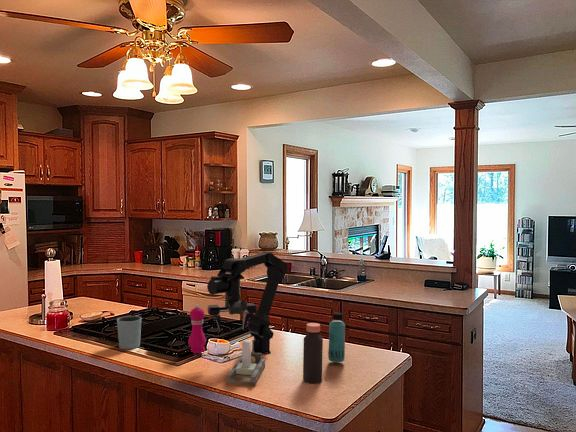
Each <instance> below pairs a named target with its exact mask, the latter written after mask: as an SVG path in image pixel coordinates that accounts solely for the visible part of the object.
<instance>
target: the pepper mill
mask: <svg viewBox="0 0 576 432" xmlns="http://www.w3.org/2000/svg"><path fill="white" fill-rule="evenodd" d="M205 316H206V315H205V310H204V309H203V308H201V307H200V305H199V304H198V303H196V304H195V307H194V308H193V309H191V310H190V312H189V317H190V319H191V322H190V324H191V326H192V329H191V333H190V334H189V337H188V341H187V342H188V346H189V348H190V347H191V349H190V350H191V352H193V353H201V352H204V351H205V350H206V349H205V345H206V343H207V339H206V336H205V333H204V331H203V324H204V318H205ZM204 353H205V352H204Z"/></svg>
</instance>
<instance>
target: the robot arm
mask: <svg viewBox="0 0 576 432" xmlns="http://www.w3.org/2000/svg"><path fill="white" fill-rule="evenodd" d="M262 264H263V265H264V267H266V277H267V280H266V283H265V284H266V285H265V287H264V289H263V294H262V296H261V299H260V302H259V305H258V306H257V305H256V304H254V302H248V301H247V300H246V299H245V300H244V299H243V300H241V293H240V292H241V280H245V276H243V273H245V271H246V270H247V269H249V268H252V267H257V266H260V265H262ZM288 269H289V267H288V264H287V263H286V261H283V260H282V259H281V258H279V257H277V256H275V255H274V254H273V253H272V252H271V251H270V252H269V251H261V252H260V253H256V254H252V255H249V256H246V257H242V258H240V257H239V258H237V257H235V258H233V257H231V258H227V259H224V262H223V264H222V266H221V268H220V269H219V272H218V273H217V274H216V276H214V275H212V276H210V280H209V281H208V283H207V287H206V289H207V292H208V293H209V295H210V296H211V295H212V296H214V295H221V294H224V293H225V294H224V306H219V305H218V304H209V305H207V313H208V316H212V318H215V322H216V324H217V328H218V330H219V332H220V333H222V322H221V315H220V313H226V312H228V314H229V315H241V314H242V313H243V316H242V330H243V331H245V330H246V327H247V329H248V331H249V334H250V336H251V337H253V340H251V351H252V352H253V353H261V355H263V354H271V350H270V345H271V343H270V341H271V339H273V338H274V333H275V332H274V331H272V329H271V328H270V324H271V322H270V316H269V315H270V312H271V309H272V306H273V302H274V299H275V297H276V293H277V290H278V287H279V285H280V282H281V281H282V280H283V279H284V278H285V276H286V275H287V272H288Z"/></svg>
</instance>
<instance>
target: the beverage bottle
mask: <svg viewBox="0 0 576 432" xmlns="http://www.w3.org/2000/svg"><path fill="white" fill-rule="evenodd" d="M343 318H344V317H343V313H342V312H338V311H335V312H332V318H331V319H332V321H330V323H329V324H328V325H329V328H328V329H329V330H328V350H327V351H328V352H327V357H328V361H330V362H332V363H342V362H344V361H345V359H346V358H345V353H346V339H345V338H346V337H345V336H346V324H345V322H344V321H342V320H343Z"/></svg>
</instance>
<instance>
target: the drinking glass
mask: <svg viewBox="0 0 576 432" xmlns="http://www.w3.org/2000/svg"><path fill="white" fill-rule="evenodd" d="M142 319H143V318H142V316H139V315H126V316H121V317H118V318H116V324H117V325H116V327H117V335H118V337H117V340H118V347H119V349H121V350H133V349H134V350H135V349H137V347H138V348H139V347H140V346H141V337H142V336H141V335H142V334H141V331H142Z"/></svg>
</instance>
